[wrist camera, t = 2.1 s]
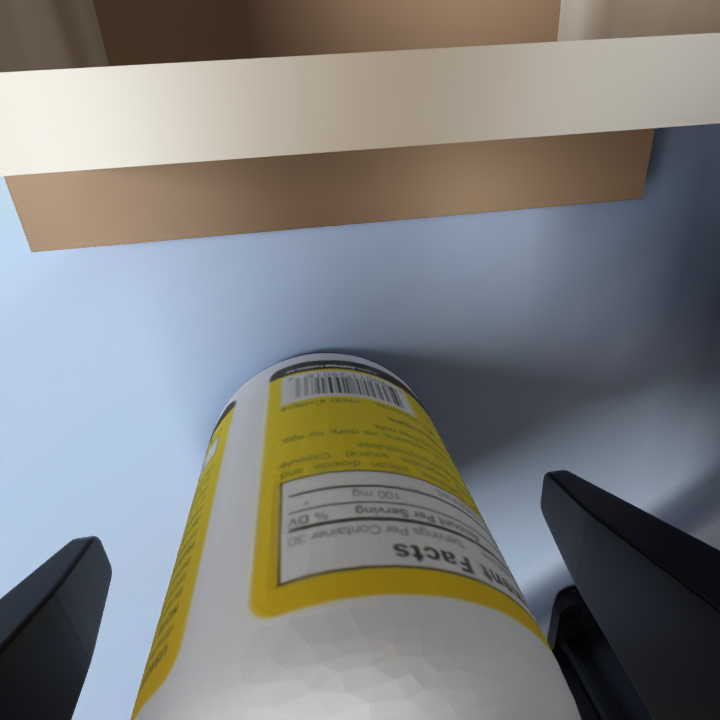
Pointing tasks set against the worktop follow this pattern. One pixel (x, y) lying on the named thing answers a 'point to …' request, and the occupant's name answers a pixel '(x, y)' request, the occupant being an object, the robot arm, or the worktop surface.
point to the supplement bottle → (341, 569)
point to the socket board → (335, 109)
